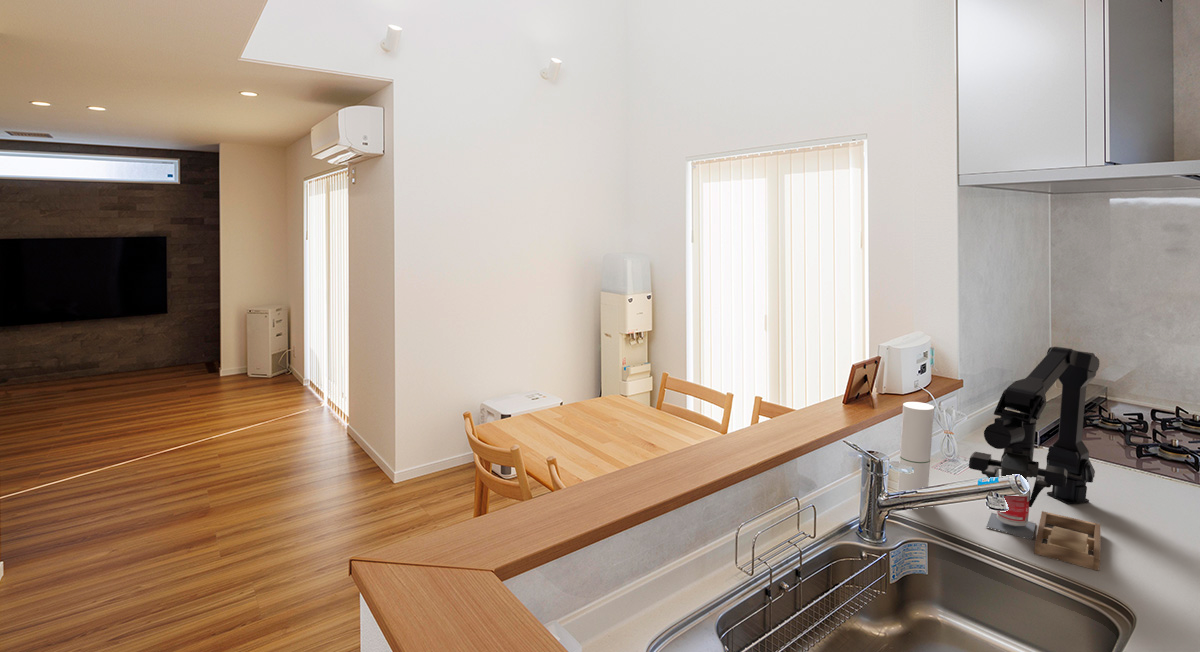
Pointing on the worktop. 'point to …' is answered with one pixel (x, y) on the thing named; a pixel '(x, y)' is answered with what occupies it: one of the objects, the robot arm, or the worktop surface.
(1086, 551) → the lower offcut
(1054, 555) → the rack
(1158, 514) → the worktop surface
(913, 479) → the cylindrical container
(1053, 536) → the upper offcut
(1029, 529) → the mat
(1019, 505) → the pill bottle
